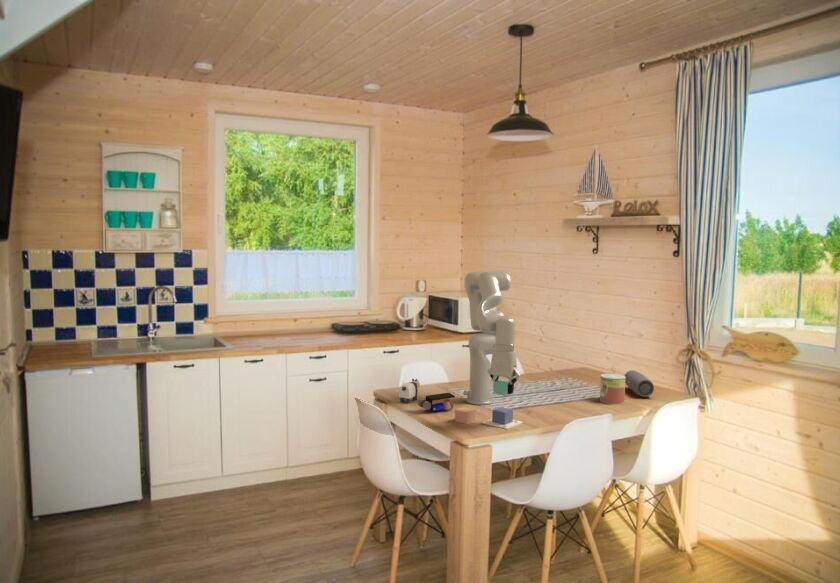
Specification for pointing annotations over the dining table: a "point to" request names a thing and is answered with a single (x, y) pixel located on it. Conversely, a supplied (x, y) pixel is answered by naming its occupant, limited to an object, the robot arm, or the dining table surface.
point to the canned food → (612, 389)
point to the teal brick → (501, 387)
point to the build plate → (502, 418)
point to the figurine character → (431, 407)
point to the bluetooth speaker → (639, 383)
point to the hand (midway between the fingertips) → (503, 391)
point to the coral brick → (465, 415)
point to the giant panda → (409, 391)
